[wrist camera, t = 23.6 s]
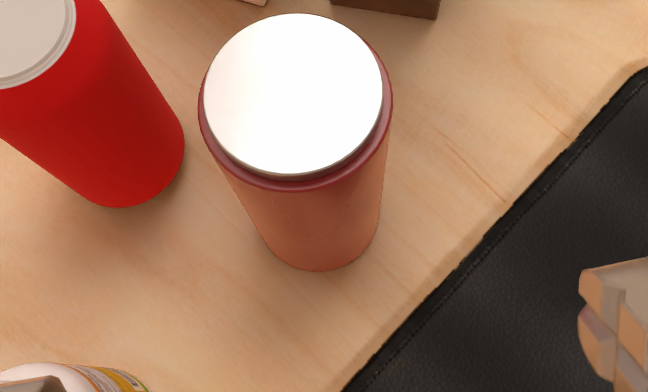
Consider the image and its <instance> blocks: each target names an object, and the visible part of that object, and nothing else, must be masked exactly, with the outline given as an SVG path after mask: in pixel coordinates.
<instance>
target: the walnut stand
mask: <svg viewBox="0 0 648 392" xmlns="http://www.w3.org/2000/svg"><path fill="white" fill-rule="evenodd" d="M440 1H441V0H330V3H332V4H338V5H344V6H351V7H357V8H363V9H369V10H376V11H382V12H388V13H394V14H401V15H407V16H413V17H420V18H426V19H432V20H436V19H437V15H438V11H439V6H440Z"/></svg>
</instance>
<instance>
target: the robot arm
mask: <svg viewBox="0 0 648 392" xmlns="http://www.w3.org/2000/svg"><path fill="white" fill-rule="evenodd" d="M579 293H580V295H581V296H582V297H583V298H584V299H585V301H586V302H587V304H586V305H585V307H584V308H583V309H582V311H581V312H580V313H579V315H578V334H579V338H580V342H581V346H582V350H583V352H584V354H585V356H586V358H587V360H588V362H589V364H590V365H591V367H592V368H593V370H594V371H595V373H596V374H597V375H598V376H600V377H602V378H604V379H606V380H608V381H610V382H612V383H614V387H613V392H648V256H647V257H646V258H640V259H635V260H630V261H625V262H620V263H615V264H610V265H606V266H601V267H596V268H591V269H586V270H583V271H582V273H581V276H580V278H579ZM0 392H67V391H66V389H65V388H64V386H63V384H62V382H61V380H60V379H59V378H58V377H55V376H52V375H48V376H42V377H36V378H31V379H25V380H19V381H14V382H8V383H2V384H0Z"/></svg>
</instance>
